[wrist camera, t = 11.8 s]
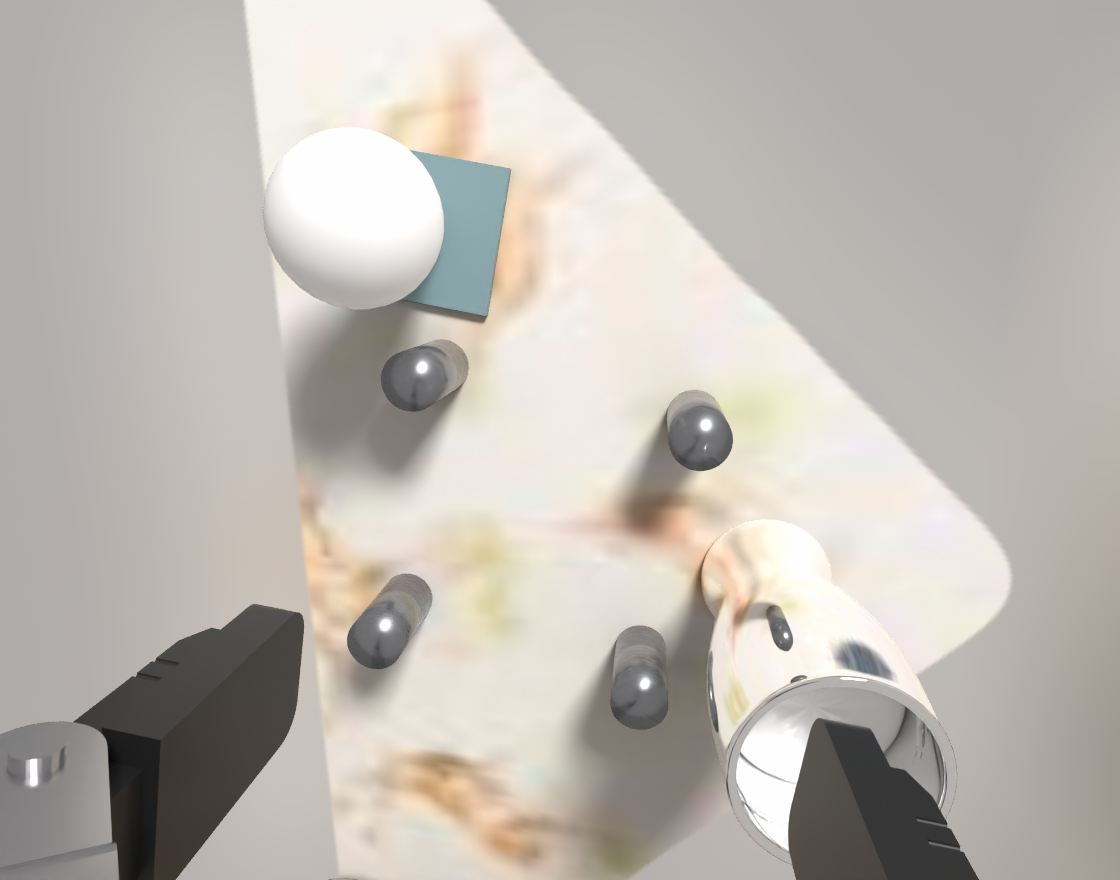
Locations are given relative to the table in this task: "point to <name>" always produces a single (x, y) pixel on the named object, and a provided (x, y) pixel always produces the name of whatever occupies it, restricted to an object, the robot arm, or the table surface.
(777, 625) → the beer glass
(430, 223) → the lightbulb
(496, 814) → the table surface
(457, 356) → the spacers
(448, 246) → the mat
